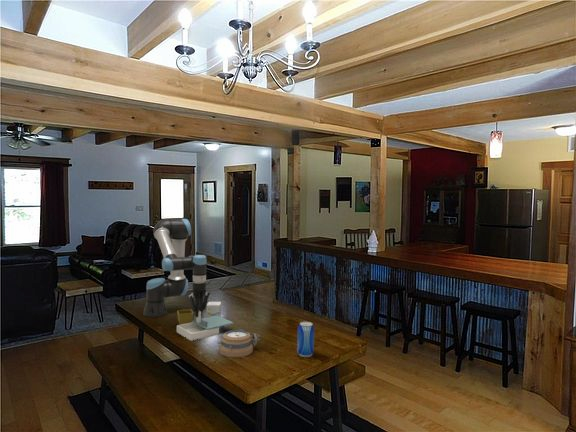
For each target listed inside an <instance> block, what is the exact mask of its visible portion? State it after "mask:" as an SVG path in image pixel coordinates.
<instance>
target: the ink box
mask: <svg viewBox="0 0 576 432" xmlns="http://www.w3.org/2000/svg"><path fill="white" fill-rule="evenodd" d="M217 315H218V316H220V317H222V302H221V301H207V304H206V317H205V318H207V317H212V316H217Z"/></svg>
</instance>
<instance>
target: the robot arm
mask: <svg viewBox="0 0 576 432" xmlns="http://www.w3.org/2000/svg"><path fill="white" fill-rule="evenodd" d="M152 234H153V237H154V239H156V240H157V243H158V245H159V249H160V250H161V251H160V252H161V254H162V257H163V258H162V260H161V268H162V270H163V271H164V272H170V275H168V277H167V279H165V278H164V277H157V278H152V279H150V280H147V282H146V303H145V306H144V309H143V316H145V317H148V318H155V317H157V318H158V317H163V316H165V315H167V314H168V308H167V305H166V301H165V299H166V298H170V297H171V298H172V297H181V296H185V295H186V294H187V292H188V290H189V280H188V278H186V275H185V274H184V273H185V272H184V270H185V271H187V270H192V291H191V292H192V293H190V294H188V296H187V297H188V298H189V302H190V307H191V310H192V312H195V313H194V316H195V317H196V322H197V323H201V319H202V317H203V312H204V310H207V304H208V299H209V296H210V292H208V291H207V289H206V288H207V262H208V261H207V256H206V255H205V254H194V255H189V256H185V254H186V253H185V252H186V251H185V250H186V241H187V240H188V239H189V238H188V237H190V236H191V234H192V227H191V223H190V221H189V219H187V218H162V219H160V220H159V221H158V222H156V224H155V225H154V228H153V233H152Z"/></svg>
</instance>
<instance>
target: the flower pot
mask: <svg viewBox="0 0 576 432" xmlns="http://www.w3.org/2000/svg"><path fill="white" fill-rule="evenodd" d="M176 314H177V315H176V316H177V321H178V323H179V324H178V325H181V324H186V323H191V322H192V321H193V320H194V311H193V310H192V308H190V309H182V310H176Z"/></svg>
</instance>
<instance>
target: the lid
mask: <svg viewBox="0 0 576 432" xmlns="http://www.w3.org/2000/svg"><path fill="white" fill-rule="evenodd" d="M206 317H207V316H206ZM206 317H204V318H201V323H197V322H196V317H195V315H193V321H192V322H194V323H196V324H198V325H200V326H202V327H203V328H205V329H207V330H208V329H212V328H217V327H219V328H220V327H224V326H229V325H234V322H233V321H231V320H228V319H226V318H224V317H222V316H221V317H220V316H218V315H217V316H212V317H207V318H206Z"/></svg>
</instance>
